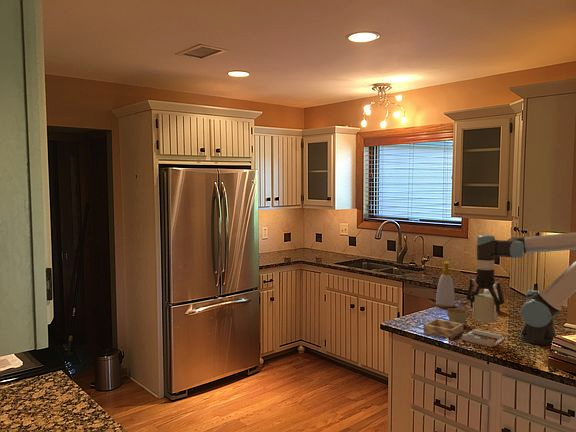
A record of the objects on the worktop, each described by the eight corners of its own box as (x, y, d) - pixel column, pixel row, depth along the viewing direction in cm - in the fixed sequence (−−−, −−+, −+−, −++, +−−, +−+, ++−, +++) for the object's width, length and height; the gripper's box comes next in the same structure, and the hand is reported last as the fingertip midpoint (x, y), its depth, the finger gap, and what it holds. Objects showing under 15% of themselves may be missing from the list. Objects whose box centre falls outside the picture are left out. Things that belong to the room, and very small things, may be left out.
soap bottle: (456, 304, 286) (457, 261, 285) (454, 308, 276) (455, 264, 274) (436, 302, 291) (438, 259, 289) (433, 306, 281) (435, 262, 279)
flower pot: (462, 321, 250) (462, 308, 249) (470, 327, 240) (470, 313, 239) (443, 321, 250) (444, 308, 249) (450, 327, 240) (451, 313, 239)
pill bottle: (479, 309, 276) (480, 283, 275) (489, 307, 279) (490, 282, 278) (491, 312, 269) (492, 286, 268) (501, 311, 272) (502, 285, 271)
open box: (463, 331, 233) (463, 323, 232) (451, 338, 222) (452, 330, 222) (435, 325, 242) (435, 318, 241) (423, 332, 231) (423, 324, 231)
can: (470, 320, 221) (470, 294, 220) (480, 316, 227) (480, 291, 227) (489, 324, 214) (490, 297, 214) (499, 320, 220) (499, 294, 220)
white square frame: (504, 339, 222) (504, 332, 221) (494, 347, 210) (494, 340, 210) (470, 332, 232) (471, 325, 231) (459, 339, 220) (459, 332, 220)
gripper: (512, 269, 215) (512, 319, 216) (464, 265, 229) (464, 311, 231) (507, 272, 210) (507, 322, 211) (459, 267, 224) (458, 314, 225)
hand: (484, 316), depth 221 cm, fingers closed on can, 9 cm apart
